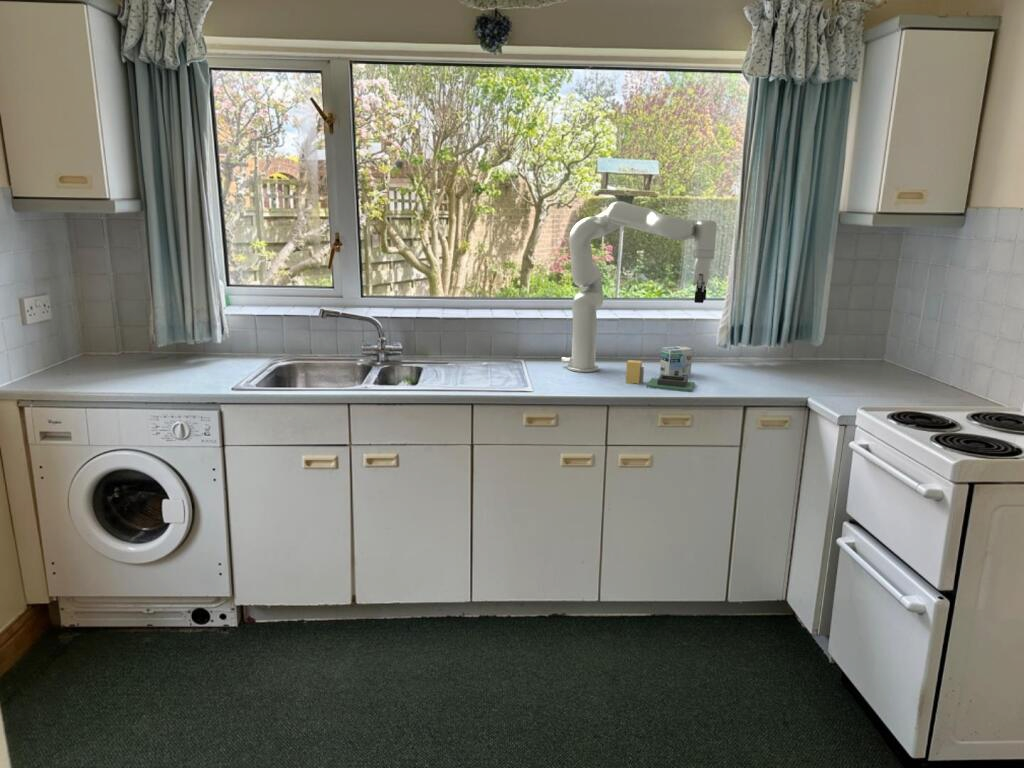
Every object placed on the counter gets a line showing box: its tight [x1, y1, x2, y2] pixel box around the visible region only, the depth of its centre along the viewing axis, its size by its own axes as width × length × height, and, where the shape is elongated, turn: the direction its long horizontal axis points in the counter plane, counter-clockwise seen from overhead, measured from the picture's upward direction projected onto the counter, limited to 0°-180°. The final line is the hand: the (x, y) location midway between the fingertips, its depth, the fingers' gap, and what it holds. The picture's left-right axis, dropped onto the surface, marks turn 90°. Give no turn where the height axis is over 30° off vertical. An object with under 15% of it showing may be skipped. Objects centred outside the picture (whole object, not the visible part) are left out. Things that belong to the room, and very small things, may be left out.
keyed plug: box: [625, 359, 645, 385], centre depth 273 cm, size 6×4×8 cm, turn 70°
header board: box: [646, 374, 696, 393], centre depth 269 cm, size 16×12×3 cm
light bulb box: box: [659, 345, 694, 377], centre depth 287 cm, size 11×7×11 cm, turn 112°
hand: (700, 301), depth 272 cm, fingers open, 9 cm apart
